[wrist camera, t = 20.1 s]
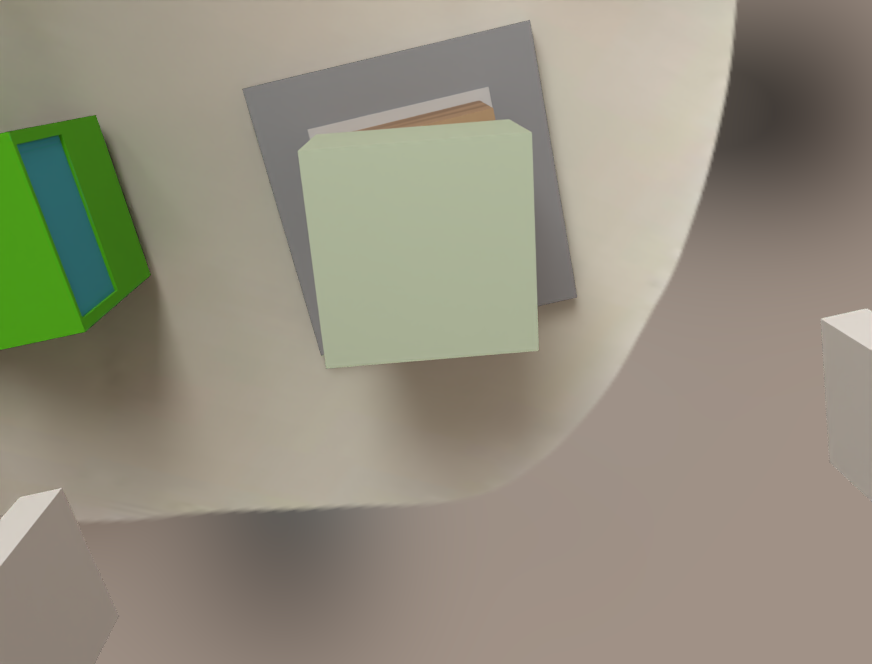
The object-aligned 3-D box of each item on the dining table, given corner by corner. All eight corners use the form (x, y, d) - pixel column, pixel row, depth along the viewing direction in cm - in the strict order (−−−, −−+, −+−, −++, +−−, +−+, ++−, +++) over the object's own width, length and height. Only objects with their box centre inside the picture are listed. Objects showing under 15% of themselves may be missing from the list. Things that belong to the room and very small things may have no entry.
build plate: (247, 87, 38) (242, 89, 37) (525, 21, 38) (530, 20, 37) (323, 347, 43) (320, 355, 42) (572, 290, 43) (577, 297, 41)
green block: (316, 134, 32) (297, 151, 26) (509, 119, 32) (532, 132, 27) (338, 318, 35) (326, 368, 29) (516, 303, 35) (538, 350, 29)
